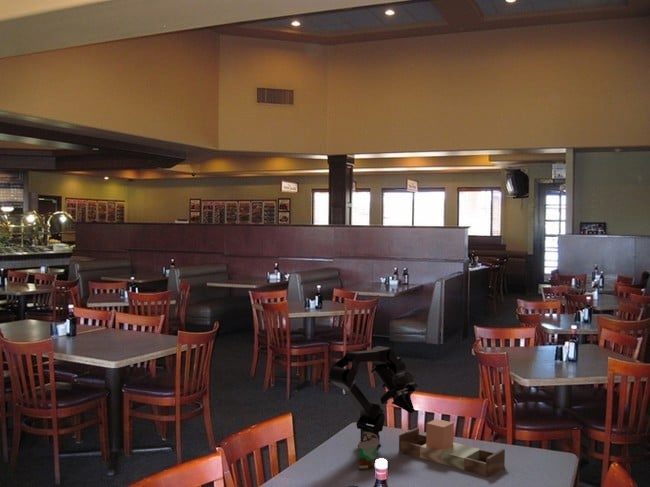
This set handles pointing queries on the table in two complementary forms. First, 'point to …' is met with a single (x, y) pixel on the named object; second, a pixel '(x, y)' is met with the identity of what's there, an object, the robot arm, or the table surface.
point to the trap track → (453, 454)
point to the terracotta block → (439, 434)
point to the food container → (368, 451)
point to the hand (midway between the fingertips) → (412, 412)
